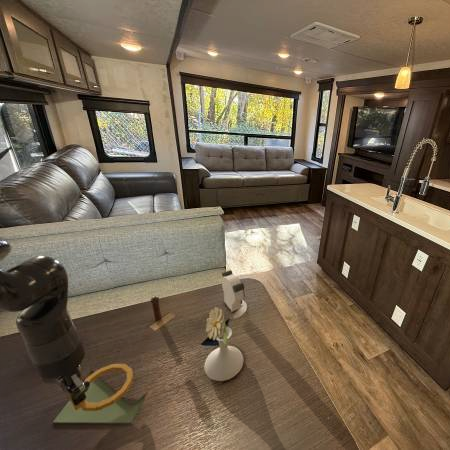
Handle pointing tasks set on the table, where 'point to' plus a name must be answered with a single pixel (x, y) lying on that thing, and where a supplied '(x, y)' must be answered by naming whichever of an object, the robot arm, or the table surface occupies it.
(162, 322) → the stand
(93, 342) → the table surface
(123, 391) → the orange ring with tab
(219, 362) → the flower in vase
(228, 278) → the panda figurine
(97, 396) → the olive green flat piece
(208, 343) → the cell phone
